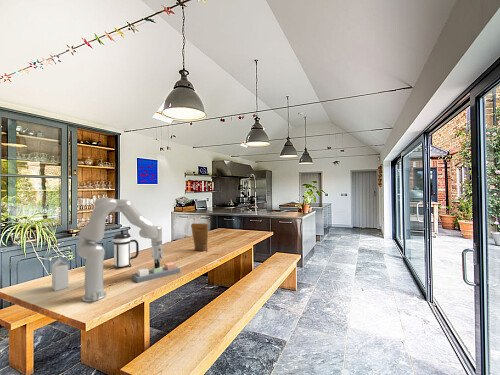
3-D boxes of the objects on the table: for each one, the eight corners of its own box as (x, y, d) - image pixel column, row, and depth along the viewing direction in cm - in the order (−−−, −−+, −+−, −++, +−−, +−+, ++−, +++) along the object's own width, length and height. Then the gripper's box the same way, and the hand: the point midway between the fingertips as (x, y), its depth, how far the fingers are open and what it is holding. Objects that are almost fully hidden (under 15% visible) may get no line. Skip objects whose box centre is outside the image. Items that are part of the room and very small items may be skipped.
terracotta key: (175, 270, 195) (175, 263, 195) (167, 272, 191) (167, 265, 191) (172, 268, 200) (171, 262, 200) (164, 270, 196) (164, 263, 196)
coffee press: (125, 270, 201) (125, 232, 201) (107, 268, 205) (107, 231, 204) (139, 263, 218) (138, 228, 218) (122, 262, 221) (122, 227, 221)
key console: (180, 272, 195) (180, 268, 195) (137, 283, 174) (137, 278, 174) (173, 268, 204) (173, 265, 204) (132, 278, 183) (132, 274, 183)
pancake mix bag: (206, 252, 252) (206, 224, 252) (190, 250, 260) (190, 223, 260) (210, 250, 258) (209, 223, 258) (194, 249, 266) (194, 222, 266)
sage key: (162, 274, 189) (162, 268, 189) (154, 276, 185) (154, 269, 185) (159, 272, 193) (159, 266, 193) (151, 274, 189) (151, 267, 189)
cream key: (148, 276, 182) (148, 269, 182) (140, 278, 178) (139, 271, 178) (145, 274, 187) (145, 267, 187) (137, 276, 183) (137, 269, 183)
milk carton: (65, 285, 172) (64, 256, 172) (68, 287, 167) (68, 258, 167) (52, 288, 166) (51, 259, 166) (55, 291, 162) (54, 261, 162)
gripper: (165, 244, 186) (166, 269, 186) (157, 240, 197) (158, 264, 197) (155, 245, 181) (155, 271, 181) (147, 242, 192) (148, 266, 192)
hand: (157, 267), depth 189 cm, fingers closed
